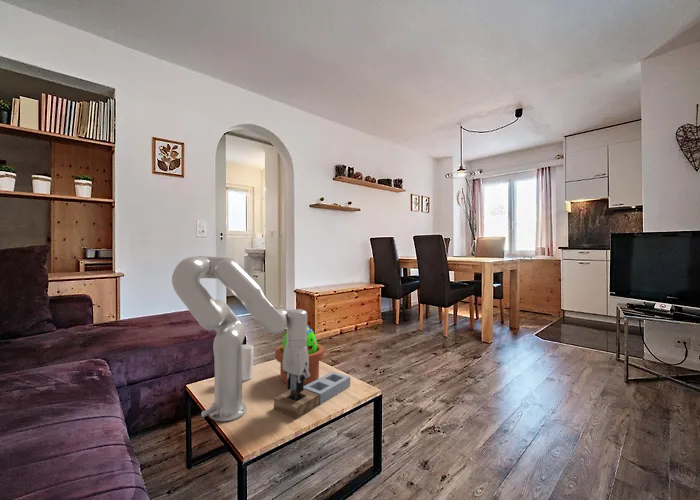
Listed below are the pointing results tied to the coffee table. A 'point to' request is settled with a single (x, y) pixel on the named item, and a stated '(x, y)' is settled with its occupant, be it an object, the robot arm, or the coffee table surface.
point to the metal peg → (294, 388)
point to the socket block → (296, 403)
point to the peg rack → (328, 386)
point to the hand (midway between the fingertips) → (295, 389)
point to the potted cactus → (313, 353)
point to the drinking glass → (247, 361)
